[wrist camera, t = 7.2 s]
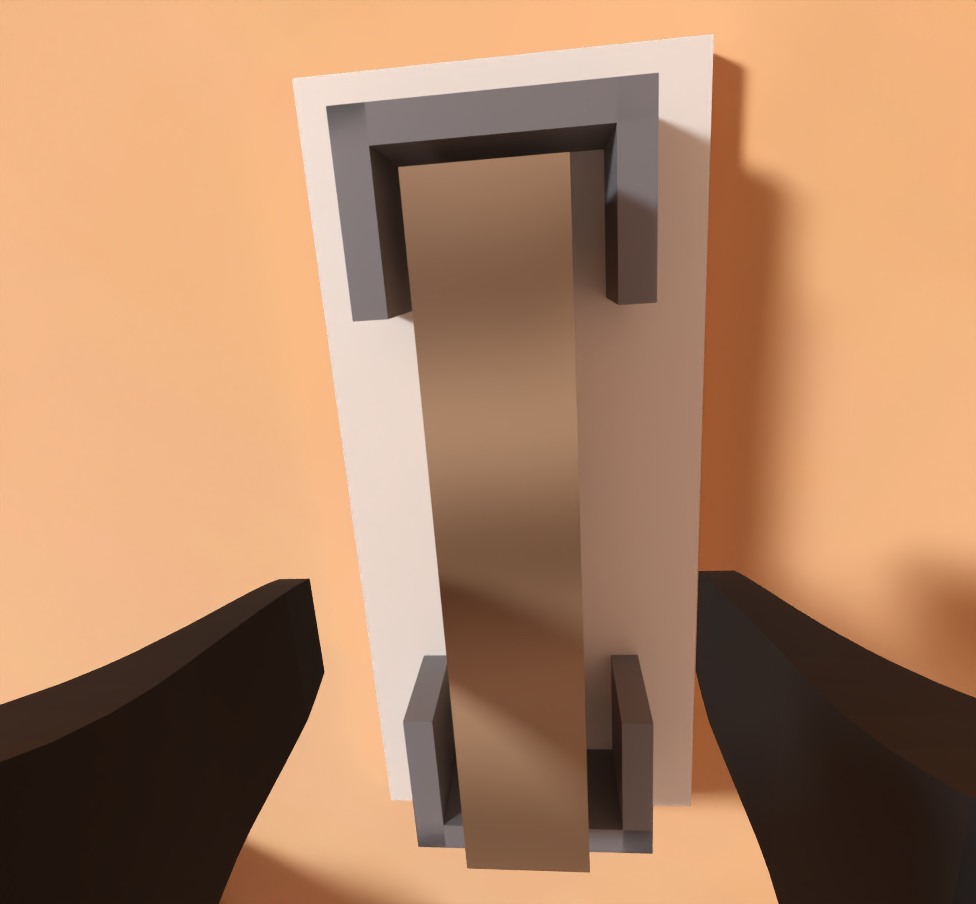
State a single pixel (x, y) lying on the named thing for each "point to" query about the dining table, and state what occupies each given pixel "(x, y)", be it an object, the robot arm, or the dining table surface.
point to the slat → (505, 494)
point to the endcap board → (599, 387)
